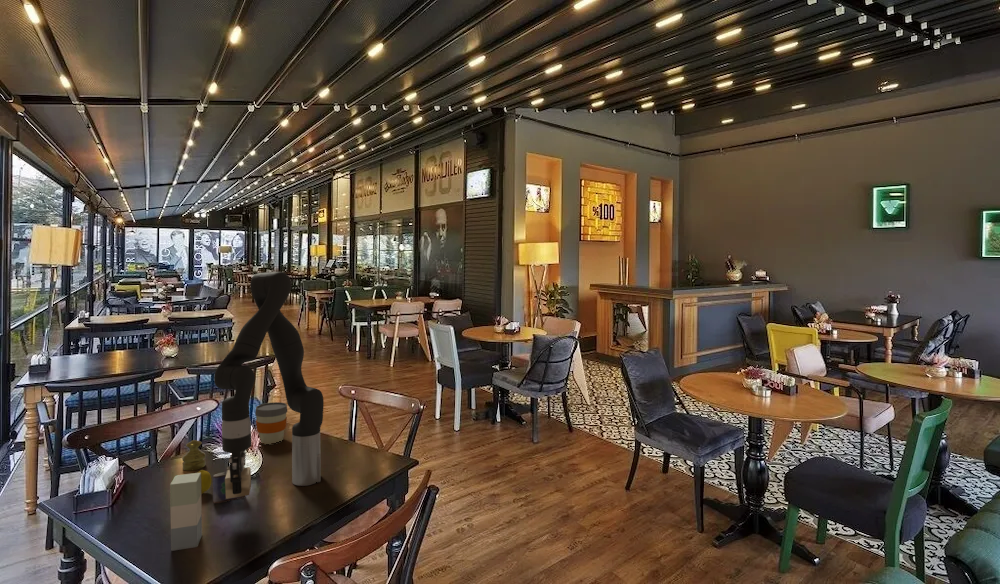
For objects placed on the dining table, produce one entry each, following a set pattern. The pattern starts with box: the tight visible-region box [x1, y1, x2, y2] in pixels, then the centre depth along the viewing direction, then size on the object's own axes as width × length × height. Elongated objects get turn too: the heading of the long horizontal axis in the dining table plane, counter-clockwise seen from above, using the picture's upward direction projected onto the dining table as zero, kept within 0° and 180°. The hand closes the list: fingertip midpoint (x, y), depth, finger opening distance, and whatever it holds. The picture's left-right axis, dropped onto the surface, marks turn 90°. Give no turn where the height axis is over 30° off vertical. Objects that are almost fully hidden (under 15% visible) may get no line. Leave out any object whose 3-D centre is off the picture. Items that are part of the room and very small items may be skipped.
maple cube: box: [225, 466, 252, 499], centre depth 146 cm, size 6×6×6 cm
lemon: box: [196, 469, 213, 495], centre depth 163 cm, size 6×6×8 cm
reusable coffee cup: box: [254, 401, 288, 445], centre depth 212 cm, size 12×13×15 cm
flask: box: [212, 465, 246, 504], centre depth 160 cm, size 9×3×11 cm, turn 121°
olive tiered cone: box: [181, 439, 207, 472], centre depth 184 cm, size 7×7×10 cm
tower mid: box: [170, 494, 203, 530], centre depth 135 cm, size 6×6×6 cm
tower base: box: [170, 514, 203, 552], centre depth 135 cm, size 6×6×6 cm
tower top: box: [169, 472, 202, 507], centre depth 134 cm, size 6×6×6 cm
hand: (238, 488), depth 146 cm, fingers closed on maple cube, 6 cm apart
